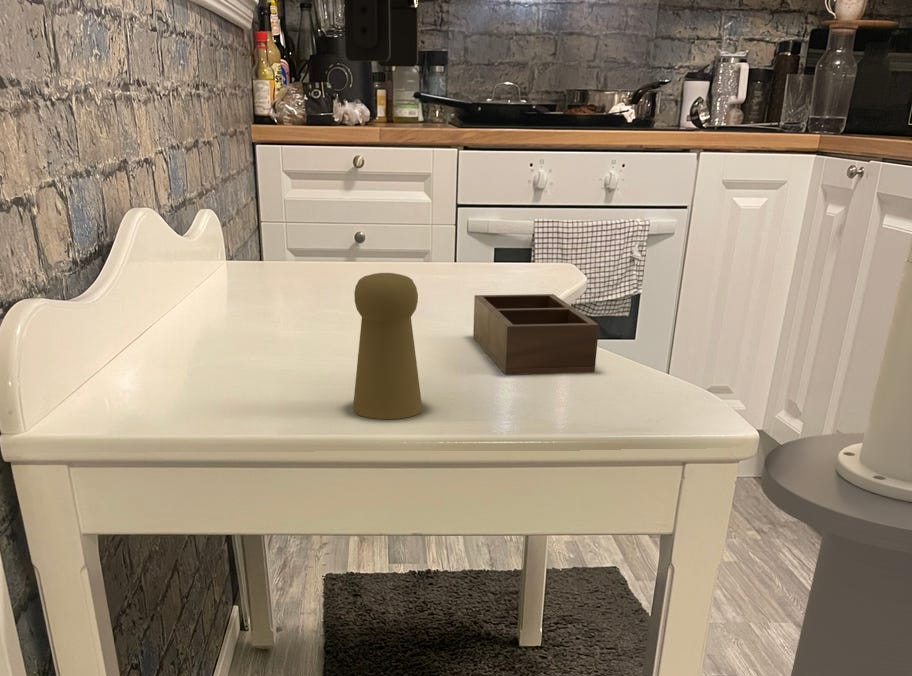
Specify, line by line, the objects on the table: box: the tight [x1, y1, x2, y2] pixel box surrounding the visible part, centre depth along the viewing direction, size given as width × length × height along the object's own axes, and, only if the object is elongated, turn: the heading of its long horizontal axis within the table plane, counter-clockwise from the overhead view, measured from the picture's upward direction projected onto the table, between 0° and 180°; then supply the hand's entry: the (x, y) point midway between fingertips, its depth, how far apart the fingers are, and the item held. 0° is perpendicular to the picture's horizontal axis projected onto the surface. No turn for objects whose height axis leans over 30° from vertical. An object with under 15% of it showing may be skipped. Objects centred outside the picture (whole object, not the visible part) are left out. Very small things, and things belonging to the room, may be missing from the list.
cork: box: [352, 272, 423, 420], centre depth 79 cm, size 6×6×11 cm
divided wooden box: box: [472, 293, 600, 376], centre depth 100 cm, size 17×9×5 cm, turn 8°
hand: (383, 63), depth 73 cm, fingers open, 9 cm apart
